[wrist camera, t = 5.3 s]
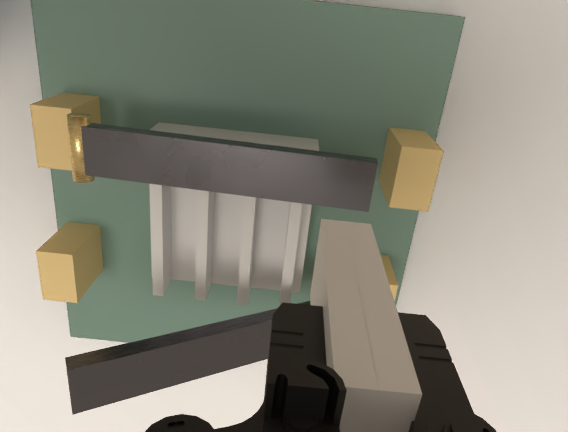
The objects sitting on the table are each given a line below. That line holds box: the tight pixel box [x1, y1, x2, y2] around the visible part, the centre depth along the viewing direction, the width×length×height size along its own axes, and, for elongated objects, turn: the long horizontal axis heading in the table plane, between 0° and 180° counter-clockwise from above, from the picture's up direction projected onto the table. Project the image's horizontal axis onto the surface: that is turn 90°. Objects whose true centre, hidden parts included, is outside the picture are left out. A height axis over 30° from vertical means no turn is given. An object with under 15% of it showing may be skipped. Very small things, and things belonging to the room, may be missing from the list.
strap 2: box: [65, 301, 310, 414], centre depth 23 cm, size 3×14×1 cm
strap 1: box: [67, 113, 378, 212], centre depth 22 cm, size 3×14×1 cm, turn 84°
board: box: [30, 0, 465, 343], centre depth 27 cm, size 23×22×5 cm
